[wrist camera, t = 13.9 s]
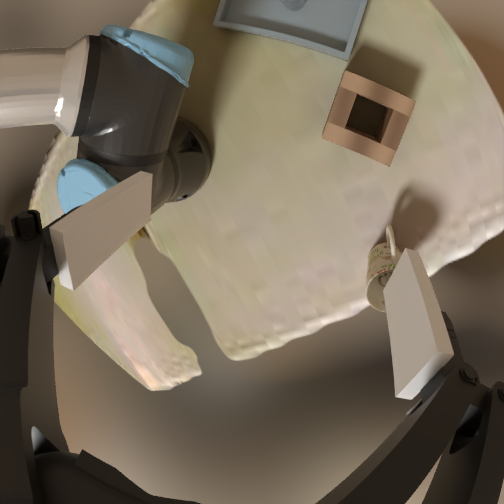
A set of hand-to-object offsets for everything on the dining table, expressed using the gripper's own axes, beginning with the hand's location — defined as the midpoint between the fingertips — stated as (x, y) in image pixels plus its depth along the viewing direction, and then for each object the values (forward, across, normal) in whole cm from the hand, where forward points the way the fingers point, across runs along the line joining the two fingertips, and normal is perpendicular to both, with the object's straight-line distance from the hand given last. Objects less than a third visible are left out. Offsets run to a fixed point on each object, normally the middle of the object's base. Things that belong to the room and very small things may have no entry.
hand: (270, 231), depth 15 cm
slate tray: (+34, -7, +20) cm, 40 cm away
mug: (+34, +18, -15) cm, 41 cm away
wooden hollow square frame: (+34, +7, +5) cm, 35 cm away
